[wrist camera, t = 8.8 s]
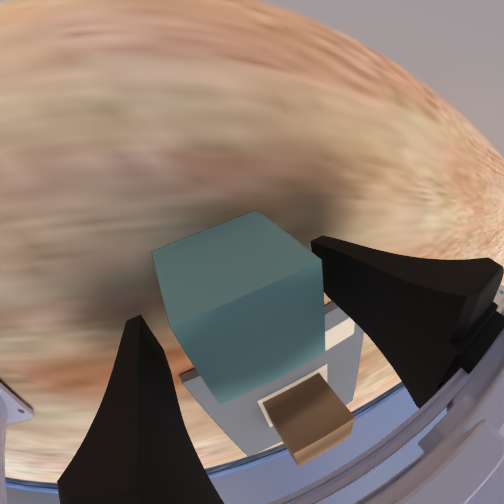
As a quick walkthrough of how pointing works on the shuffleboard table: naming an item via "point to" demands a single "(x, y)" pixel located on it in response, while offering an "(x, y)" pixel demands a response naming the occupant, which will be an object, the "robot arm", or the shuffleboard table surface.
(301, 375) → the board
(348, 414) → the walnut block
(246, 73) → the shuffleboard table surface
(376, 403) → the shuffleboard table surface
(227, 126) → the shuffleboard table surface
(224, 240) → the teal block
